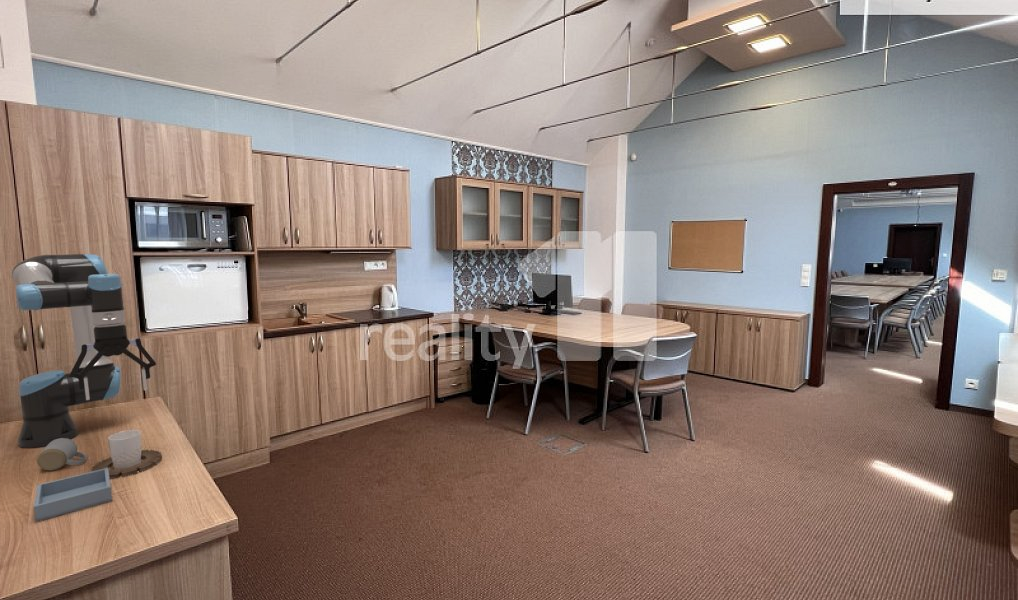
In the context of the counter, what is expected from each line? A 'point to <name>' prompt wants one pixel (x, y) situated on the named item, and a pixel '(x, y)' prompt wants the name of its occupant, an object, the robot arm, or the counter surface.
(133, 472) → the holder ring
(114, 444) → the white cup
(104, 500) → the bin
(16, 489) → the counter surface
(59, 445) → the ceramic mug
